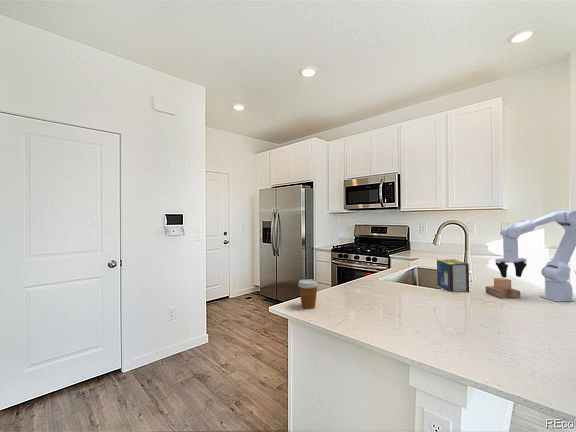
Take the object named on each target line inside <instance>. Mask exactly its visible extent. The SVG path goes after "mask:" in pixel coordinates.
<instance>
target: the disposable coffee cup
mask: <svg viewBox="0 0 576 432" xmlns="http://www.w3.org/2000/svg"><path fill="white" fill-rule="evenodd" d="M297 286H298V288H299V295H300V301H301V302H300V303H301V307H302V308H303V309H304V310H305V309H306V310H311V309H315V308H316V304H317V303H316V302H317V294H318V286H319V283H318V280H316V279H309V278H307V279H300V280H299V281H298V283H297Z"/></svg>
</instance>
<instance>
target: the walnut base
mask: <svg viewBox="0 0 576 432" xmlns="http://www.w3.org/2000/svg"><path fill="white" fill-rule="evenodd" d="M485 294H487V295H490V296H492V297H495V298H497V299H499V300H500V299H502V300H503V299H504V300H505V299H508V300H509V299H511V300H512V299H521V290H518V289H514V288H512V287H511V290H500V289H497V288H494V285H486V286H485Z"/></svg>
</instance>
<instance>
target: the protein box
mask: <svg viewBox="0 0 576 432" xmlns="http://www.w3.org/2000/svg"><path fill="white" fill-rule="evenodd" d="M469 265H470V264H469V263H468V262H464V261H460V260H457V259H436V275H437V276H436V277H437V279H436V281H437V286H439V287H440V288H442V289H444V290H445V291H447V292H450V293H454V292H455V293H465V292H466V293H470V269H469V268H470V266H469Z"/></svg>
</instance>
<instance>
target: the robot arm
mask: <svg viewBox="0 0 576 432" xmlns="http://www.w3.org/2000/svg"><path fill="white" fill-rule="evenodd" d="M551 222H555V223H557V224H558V225H560V226H561V228H562V229H564V230H565V231H564V234H563V236H562V239H561V240H560V242H559V245H558V247H557V248H556V249H557V250H556V251H555V253H554V256H553V258H552V259H551V260H550V261H548V262H547V263H546V265H545V266H543V267H542V268H541V275H542V276H543V278H544V285H545V286H544V290H545V291H544V292H545V294H544V295H540V296H539V297H540V298H544V299H547V300H549V301H553V302H575V301H576V299H573V286H572V284H571V283H570V282H569V280H570V272H571V268H570V266H569V265H568V264H569V262H570V260H571V258H572V257H573V253H574V251H575V249H576V209H572V210H571V209H569V210H561V209H560V210H557V211H553V212H550V213H548V214H545V215H541V216H540V217H538V218H536V219H535V218H534V219H533V220H529V219H522V220H520V222H517V223H511V225H510V226H509V225H508V226H504V227H502V229H501V230H500V231H499V232H500V235H501V236H502V240H503V241H502V243H503V245H502V246H503V247H502V248H503V249H502V250H503V251H502V252H503V257H502V258H495V260H494V261H495V265H496V267H497V268H498V270H499V273H500V276H501V278H505V279H507V276H508V275H507V273H508V267H509V263H510V264H511V263H512V264H513V266H514V269H515V270H514V271H515V276H516V277H518V278H521V277H522V274H523V272H524V269H525V268H527V267H526V266H527V258H524V257H523V258H522V257H519V246H518V245H519V243H518V242H519V241H518V240H519V237H520V236H522V235H523V234H527V233H530V232H532V231H535V229H536V227H539V226H543V225H546V224H549V223H551Z"/></svg>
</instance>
